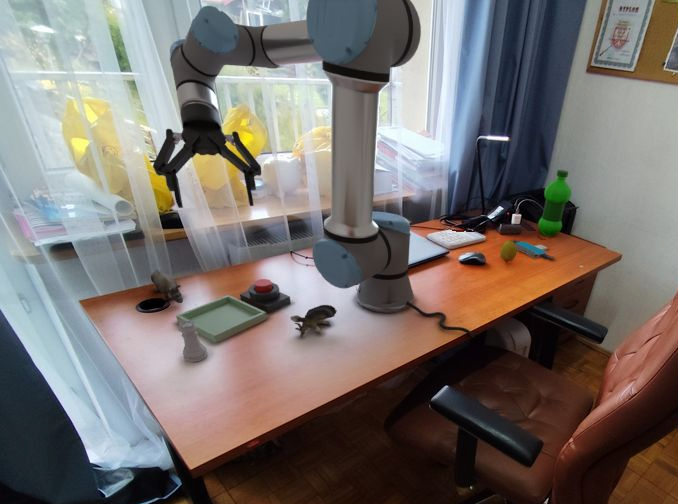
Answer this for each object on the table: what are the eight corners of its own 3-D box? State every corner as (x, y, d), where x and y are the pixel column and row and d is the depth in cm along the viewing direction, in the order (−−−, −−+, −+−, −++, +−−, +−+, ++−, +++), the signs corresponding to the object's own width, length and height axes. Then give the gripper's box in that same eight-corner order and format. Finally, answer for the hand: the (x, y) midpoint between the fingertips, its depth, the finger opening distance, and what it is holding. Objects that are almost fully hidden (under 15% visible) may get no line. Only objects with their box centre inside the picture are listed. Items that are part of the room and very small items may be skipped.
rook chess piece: (213, 352, 87) (204, 319, 83) (200, 364, 83) (190, 331, 79) (192, 349, 87) (182, 316, 83) (179, 361, 84) (167, 327, 79)
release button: (276, 289, 105) (274, 282, 104) (262, 294, 102) (261, 287, 101) (265, 284, 106) (263, 277, 105) (251, 289, 103) (250, 282, 102)
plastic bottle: (564, 238, 173) (581, 174, 159) (542, 238, 170) (557, 173, 156) (553, 229, 181) (568, 168, 167) (531, 229, 178) (545, 167, 164)
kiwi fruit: (516, 262, 145) (521, 240, 141) (510, 267, 141) (514, 244, 137) (502, 258, 147) (506, 236, 143) (495, 262, 143) (499, 240, 139)
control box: (290, 303, 107) (289, 289, 104) (268, 313, 102) (266, 299, 99) (263, 291, 110) (261, 277, 108) (240, 301, 105) (238, 286, 103)
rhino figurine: (174, 311, 98) (166, 289, 95) (151, 290, 105) (144, 268, 102) (192, 306, 101) (186, 284, 97) (169, 286, 108) (163, 264, 104)
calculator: (425, 238, 156) (425, 233, 155) (462, 230, 168) (463, 225, 167) (449, 250, 148) (450, 245, 147) (486, 240, 161) (487, 236, 159)
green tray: (267, 319, 100) (266, 312, 99) (216, 343, 90) (214, 336, 89) (230, 301, 104) (228, 294, 103) (177, 322, 95) (175, 315, 94)
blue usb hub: (563, 257, 154) (565, 253, 153) (542, 262, 148) (543, 258, 147) (525, 239, 167) (526, 235, 166) (504, 243, 160) (504, 239, 159)
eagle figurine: (319, 341, 92) (344, 318, 98) (299, 315, 89) (326, 293, 95) (301, 345, 97) (325, 323, 103) (281, 321, 94) (307, 300, 100)
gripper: (262, 128, 99) (278, 210, 97) (136, 122, 89) (151, 214, 87) (261, 105, 92) (278, 193, 90) (124, 96, 82) (140, 195, 80)
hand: (216, 203), depth 88 cm, fingers open, 13 cm apart
